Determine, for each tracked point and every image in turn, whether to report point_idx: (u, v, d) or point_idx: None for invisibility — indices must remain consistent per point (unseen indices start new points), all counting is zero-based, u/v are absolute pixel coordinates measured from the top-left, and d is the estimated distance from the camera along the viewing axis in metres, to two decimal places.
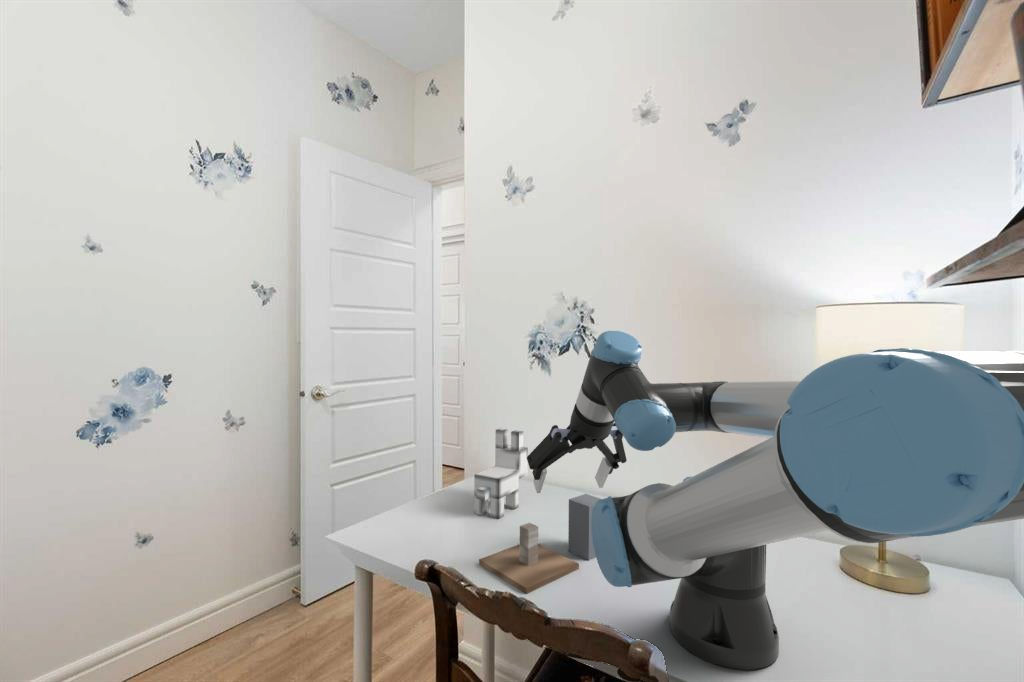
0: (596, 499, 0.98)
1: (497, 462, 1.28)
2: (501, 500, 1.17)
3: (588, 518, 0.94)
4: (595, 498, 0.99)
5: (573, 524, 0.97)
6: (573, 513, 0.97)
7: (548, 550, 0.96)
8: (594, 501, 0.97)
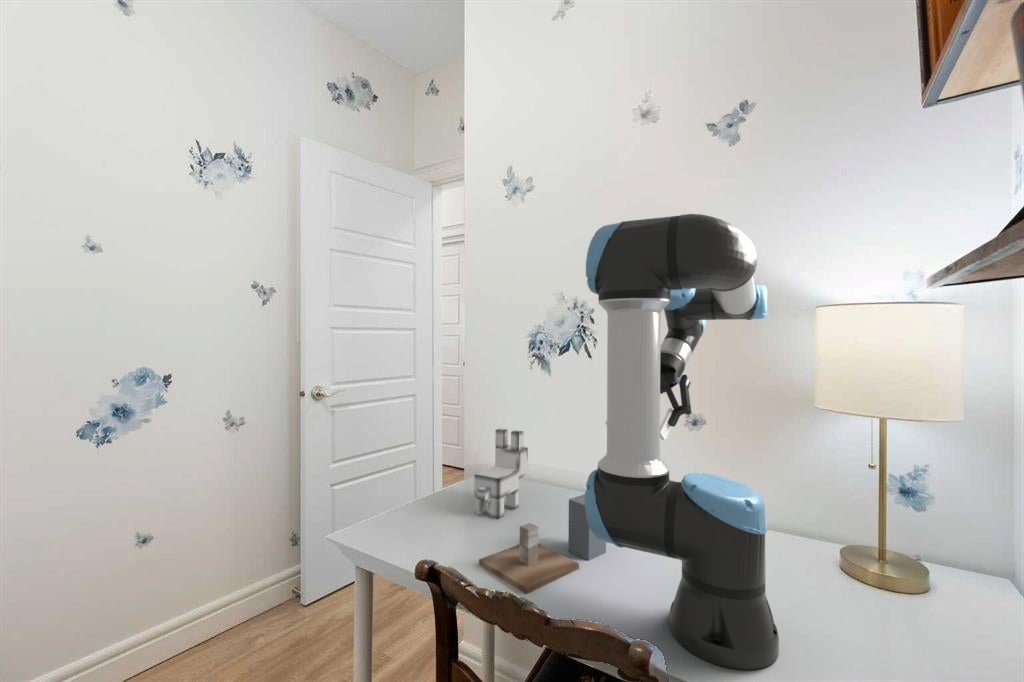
0: None
1: (497, 462, 1.28)
2: (501, 500, 1.17)
3: None
4: None
5: (573, 524, 0.97)
6: (573, 513, 0.97)
7: (548, 550, 0.96)
8: None
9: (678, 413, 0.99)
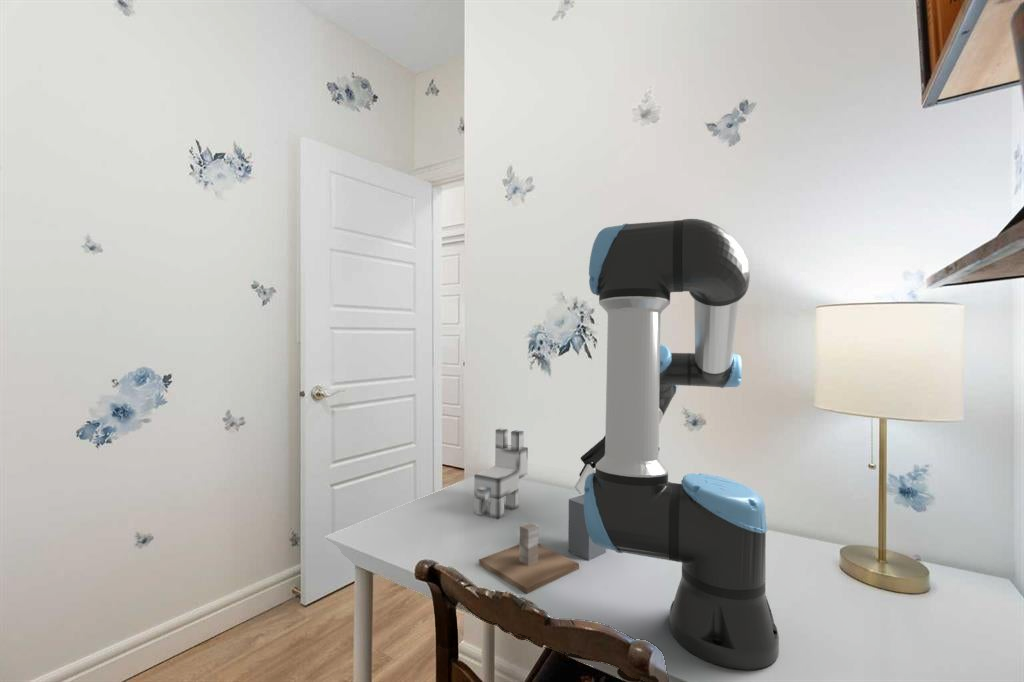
0: None
1: (497, 462, 1.28)
2: (501, 500, 1.17)
3: None
4: None
5: (573, 524, 0.97)
6: (573, 513, 0.97)
7: (548, 550, 0.96)
8: None
9: None
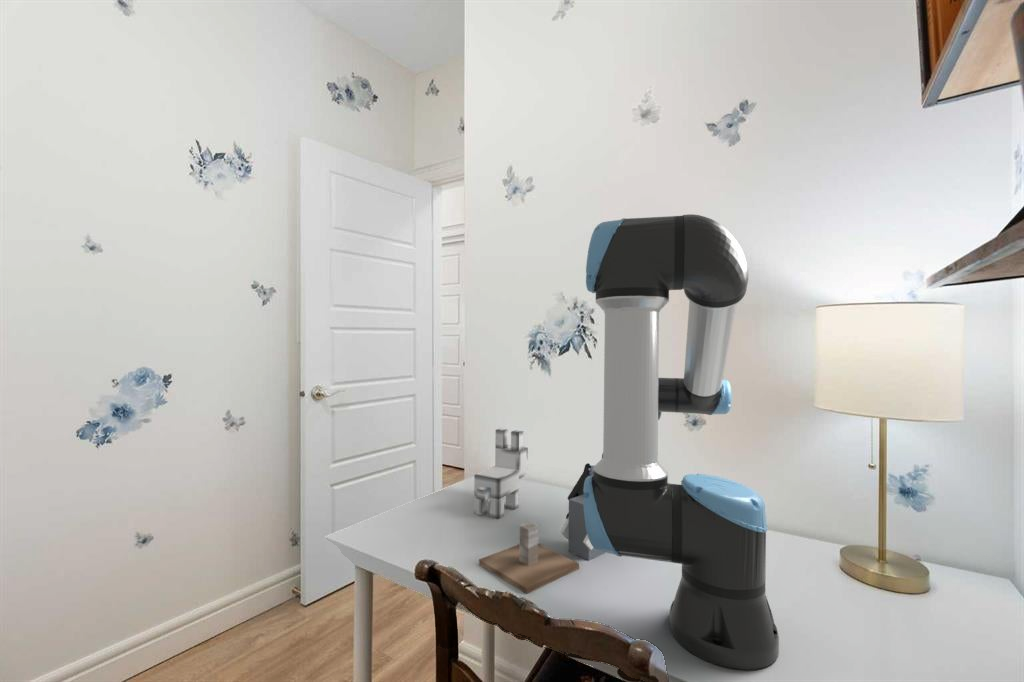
0: None
1: (497, 462, 1.28)
2: (501, 500, 1.17)
3: None
4: None
5: (573, 524, 0.97)
6: (573, 513, 0.97)
7: (548, 550, 0.96)
8: None
9: None
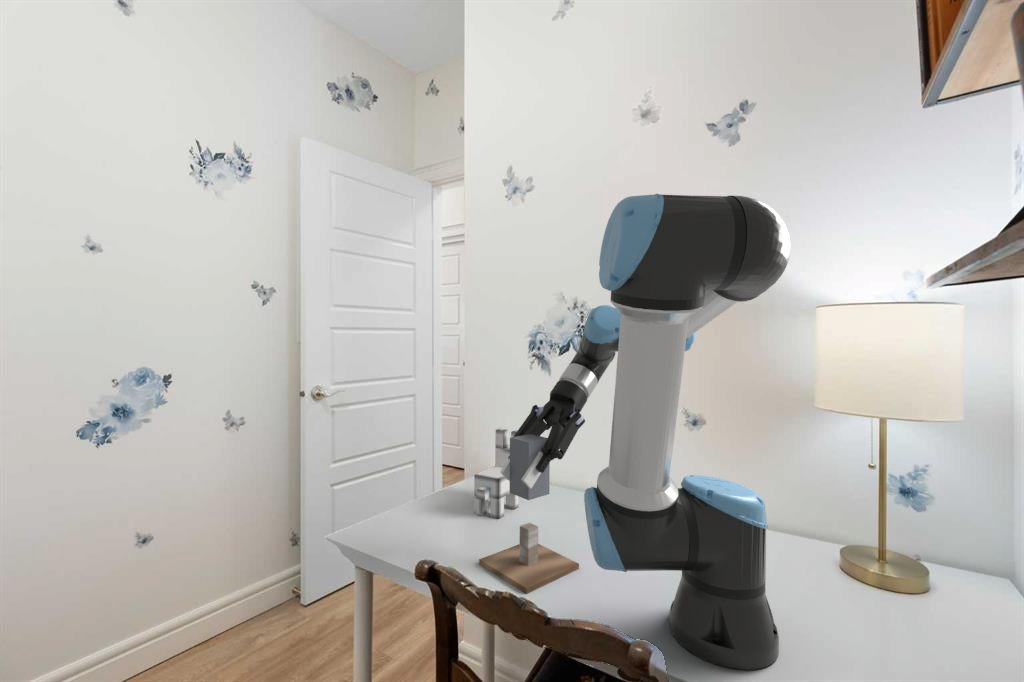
0: (539, 437, 0.92)
1: (497, 462, 1.28)
2: (501, 500, 1.17)
3: (528, 455, 0.88)
4: (538, 437, 0.93)
5: (514, 463, 0.91)
6: (514, 452, 0.91)
7: (548, 550, 0.96)
8: (536, 439, 0.91)
9: (548, 457, 0.88)
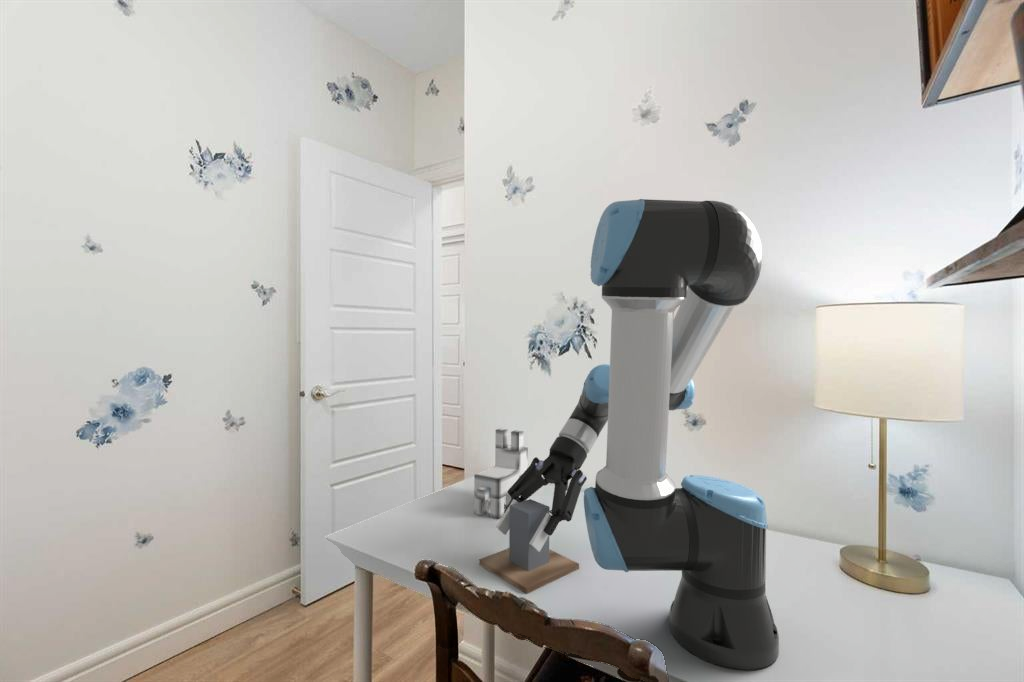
0: (539, 505, 0.92)
1: (497, 462, 1.28)
2: (501, 500, 1.17)
3: (528, 526, 0.88)
4: (538, 504, 0.92)
5: (514, 532, 0.91)
6: (514, 520, 0.91)
7: None
8: (536, 507, 0.91)
9: (556, 520, 0.87)
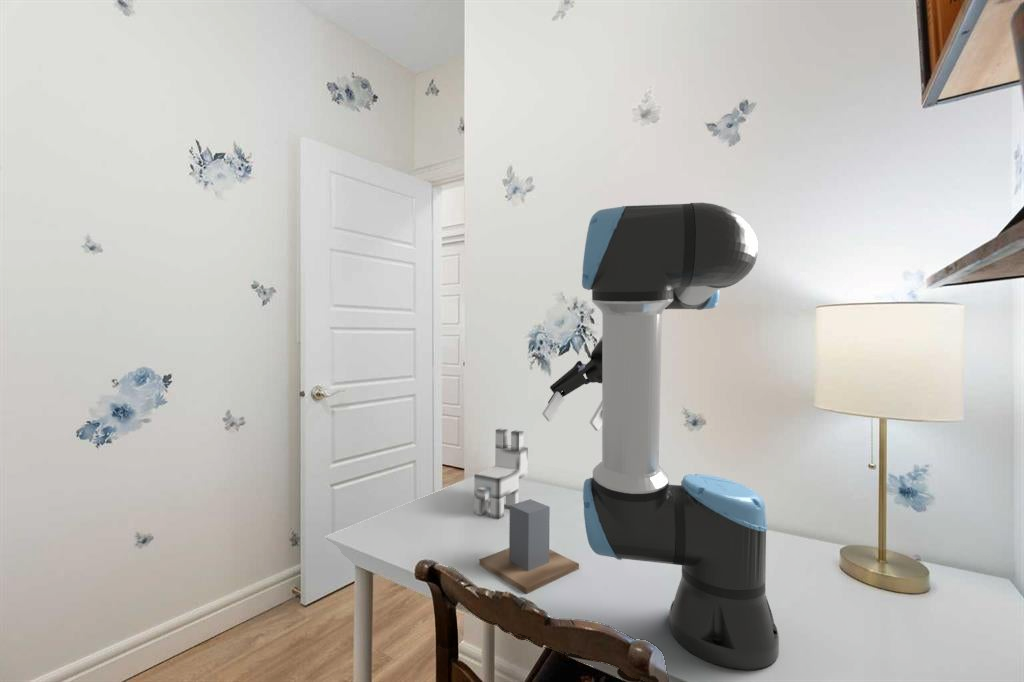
0: (539, 505, 0.92)
1: (497, 462, 1.28)
2: (501, 500, 1.17)
3: (528, 526, 0.88)
4: (538, 504, 0.92)
5: (514, 532, 0.91)
6: (514, 520, 0.91)
7: None
8: (536, 507, 0.91)
9: None
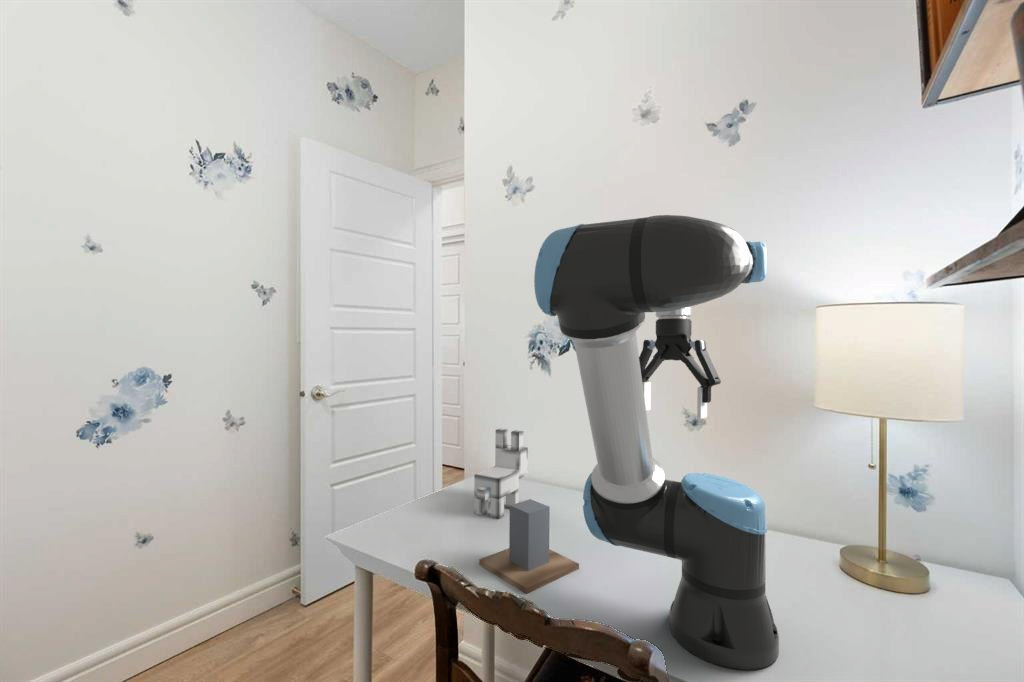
0: (539, 505, 0.92)
1: (497, 462, 1.28)
2: (501, 500, 1.17)
3: (528, 526, 0.88)
4: (538, 504, 0.92)
5: (514, 532, 0.91)
6: (514, 520, 0.91)
7: None
8: (536, 507, 0.91)
9: (709, 389, 0.96)
